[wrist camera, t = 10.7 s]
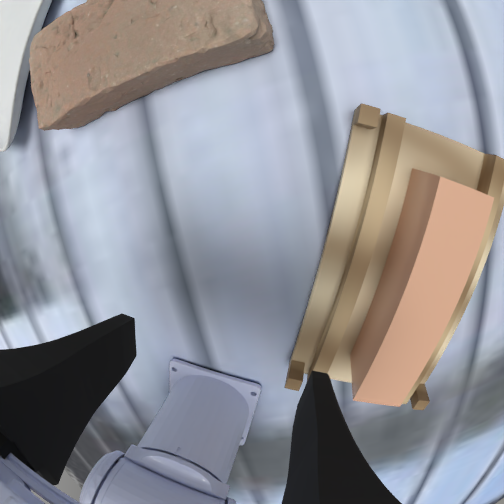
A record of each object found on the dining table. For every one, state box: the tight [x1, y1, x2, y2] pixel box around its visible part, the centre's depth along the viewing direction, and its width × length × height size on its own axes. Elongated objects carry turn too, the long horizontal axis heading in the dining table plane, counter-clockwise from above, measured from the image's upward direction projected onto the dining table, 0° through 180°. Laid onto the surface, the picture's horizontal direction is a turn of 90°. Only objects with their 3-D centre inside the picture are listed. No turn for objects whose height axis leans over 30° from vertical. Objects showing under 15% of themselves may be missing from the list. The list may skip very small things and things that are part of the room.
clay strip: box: [350, 168, 494, 407], centre depth 15 cm, size 13×3×4 cm, turn 170°
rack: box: [285, 104, 504, 410], centre depth 17 cm, size 18×11×3 cm, turn 170°
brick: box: [29, 0, 274, 131], centre depth 15 cm, size 17×8×5 cm, turn 103°
